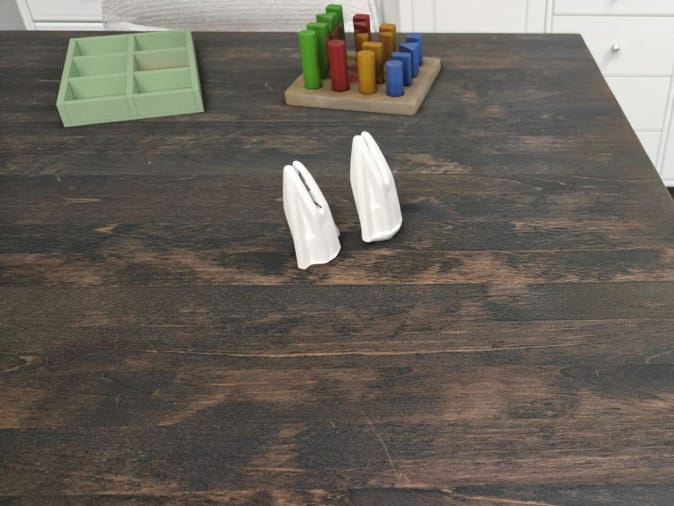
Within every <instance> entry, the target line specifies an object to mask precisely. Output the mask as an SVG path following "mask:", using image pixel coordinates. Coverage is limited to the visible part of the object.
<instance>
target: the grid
mask: <svg viewBox="0 0 674 506" xmlns="http://www.w3.org/2000/svg"><path fill="white" fill-rule="evenodd" d="M55 106H56V108H57V111H58V114H59V116H60V119H61V122H62V124H63V127H64V128H69V127H78V126H86V125H88V126H89V125H96V124H105V123H106V124H107V123H113V122H115V123H116V122H122V121H123V122H124V121H132V120H141V119H149V118H150V119H151V118H152V119H153V118H159V117H160V118H161V117H168V116H169V117H170V116H178V115H179V116H180V115H188V114H196V113H204V112H205V107H204V102H203V95H202V87H201V80H200V75H199V67H198V61H197V55H196V49H195V43H194V39H193V35H192V30H191V28H183V29H172V30H171V29H170V30H158V31H149V32H148V31H147V32H145V31H144V32H134V33H121V34H111V35H99V36H87V37H73V38H69V42H68V46H67V52H66V55H65V61H64V66H63V71H62V75H61V79H60V84H59V90H58V94H57V98H56V103H55Z"/></svg>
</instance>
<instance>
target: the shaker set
mask: <svg viewBox="0 0 674 506" xmlns="http://www.w3.org/2000/svg"><path fill="white" fill-rule="evenodd" d="M351 143H352V144H351V154H350V165H349V167H350V169H349V181H350V186H351V191H352V194H353V199H354V203H355V207H356V211H357V215H358V219H359V223H360V228H361V229H360V230H361V240H362V241H363V242H366V243H372V242H384V241H386V240H387V241H388V240H390V239H391V238H393V237H394V236H395V235H396V234H397V232H398V231H399V230H400V229H401V226H402V223H403V216H402V210H401V206H400V201H399V195H398V192H397V187H396V183H395V178H394V176H393V175H394V174H393V173H392V170H391V167H390V166H389V164H388V162H387V160H386V158H385V156H384V154H383V152H382V150H381V149H380V147H379V144H378V143H377V142H376V140H375V139H374V138H373V136H372V135H371V134H370V132H367V131H362V132H361V133H360V135H354V136H353V138H352V142H351ZM282 201H283V202H282V203H283V212H284V214H285V215H284V216H285V219H286V221H287V225H288V228H289V231H290V234H291V237H292V240H293V243H294V244H293V245H294V250H295V257H296V262H297V268H298V269H301V270H306V269H308V268H309V267H310V266H311V265H315V264H316V265H322V264H326V263H329V262H330V261H332V260H333V259H335V258H336V257H337V256H338V254H339V252H340V251H341V243H340V240H339V237H340V236H341V234H340V230H339V228H338V226H337V225H336V223H335V222H334V218H333V216H332V212H331V209H330V206H329V204H328V202H327V199H326V198H325V196H324V194H323V192H322V191H321V189H320V187H319V185H318V183H317V182H316V181H315V178H314V177H313V176H312V174H311V173H310V171H309V170H308V169H307V168H306V166H305V165H304V164H303V163H301V162H300V161H299V160H293V161H292V165H290V164H287V165H285V166H284V167H283V173H282Z"/></svg>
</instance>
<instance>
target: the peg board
mask: <svg viewBox="0 0 674 506" xmlns="http://www.w3.org/2000/svg"><path fill="white" fill-rule="evenodd" d="M324 9H325V13H324V12H323V13H317V14H315V20H316V21H309V22H307V24H306V27H305V28H306V29H301V30H299V31H298V32H297V35H298V43H299V51H300V52H299V53H300V60H301V67H302V72H301V74H300V75H299V76H298V77H296V79H295V80H294V81H293V82H292V83H291V84H290V86H289V87H288V88H287V89H286V90H285V91H284V94H283V95H284V101H285V104H286V105H287V106H294V107H295V106H297V107H308V108H319V109H333V110H344V111H345V110H346V111H355V112H367V113H368V112H369V113H379V114H393V115H404V116H405V115H406V116H414V115H416V113H418V111H419V108H420V107H421V104H422V103H423V101H424V99H426V96H427V94H428V92H429V91H430V89H431V87H432V86H433V83H434V82H435V80H436V78H437V76H438V74H439V72H440V70H441V69H442V67H441V65H442V61H441V58H439V57H430V56H423V34H422V33H420V32H419V33H418V32H408V33H406V35H405V42H403V43H402V42H401V43H398V44H397V42H398V41H397V25H396V23H386V22H382V23H381V24H380V25H379V26H378V36H379V42H378V41H377V42H376V41H372V33H371V32H372V31H371V15H370V14H367V13H355V14H354V15H353V16H352V26H353V36H354V48H355V50H347V41H346V31H345V19H344V11H343V5H342V4H337V3H336V4H335V3H329V4H328V5H326V7H325V8H324ZM397 45H398V46H397Z"/></svg>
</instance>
